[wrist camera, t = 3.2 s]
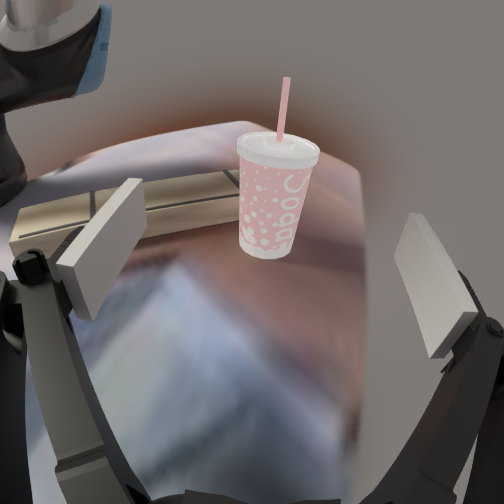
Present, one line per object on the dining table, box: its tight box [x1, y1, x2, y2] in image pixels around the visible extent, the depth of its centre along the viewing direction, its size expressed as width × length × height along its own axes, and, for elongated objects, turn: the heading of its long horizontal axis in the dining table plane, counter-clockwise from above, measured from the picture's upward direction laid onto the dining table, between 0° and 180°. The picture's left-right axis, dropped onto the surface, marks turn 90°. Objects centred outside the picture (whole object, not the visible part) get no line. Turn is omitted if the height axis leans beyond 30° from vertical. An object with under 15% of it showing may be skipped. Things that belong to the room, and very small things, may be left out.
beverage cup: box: [237, 77, 320, 259], centre depth 23 cm, size 6×6×14 cm
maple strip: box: [9, 169, 240, 259], centre depth 28 cm, size 6×26×3 cm, turn 115°
